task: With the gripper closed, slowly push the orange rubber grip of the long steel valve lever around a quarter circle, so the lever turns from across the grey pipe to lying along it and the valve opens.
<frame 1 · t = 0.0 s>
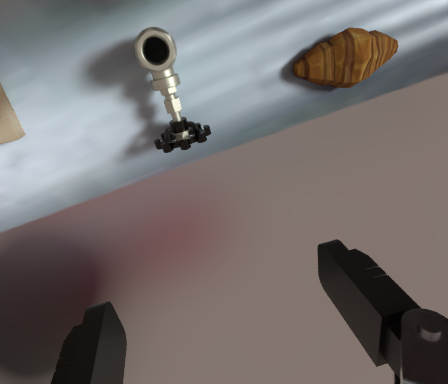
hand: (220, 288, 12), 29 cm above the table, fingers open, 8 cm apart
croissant: (339, 58, 39), on the table
valve: (167, 85, 36), on the table
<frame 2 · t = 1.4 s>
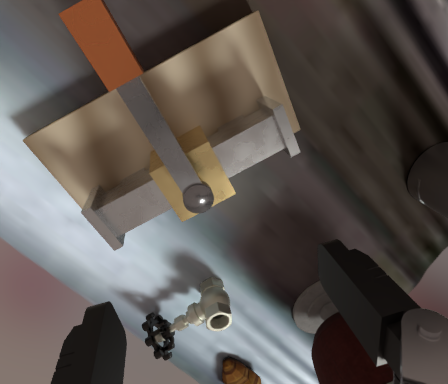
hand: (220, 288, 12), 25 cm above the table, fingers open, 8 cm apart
valve board: (171, 129, 34), on the table
mate gourd: (321, 304, 52), on the table
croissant: (240, 373, 56), on the table
pipe valve: (192, 175, 30), on the valve board, point 6 cm above the table
valve: (189, 298, 46), on the table
valve lever: (153, 124, 23), point 11 cm above the table, hinge at 0.0°
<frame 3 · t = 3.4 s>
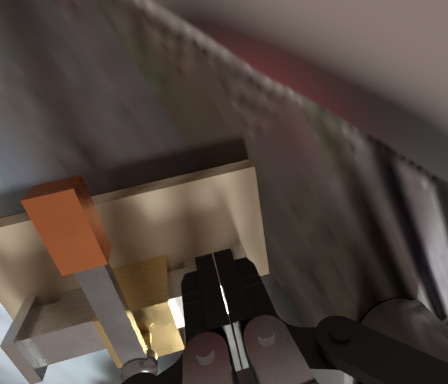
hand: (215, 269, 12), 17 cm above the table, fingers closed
valve board: (135, 246, 31), on the table
pipe valve: (143, 315, 27), on the valve board, point 6 cm above the table
valve lever: (107, 300, 20), point 11 cm above the table, hinge at 0.0°
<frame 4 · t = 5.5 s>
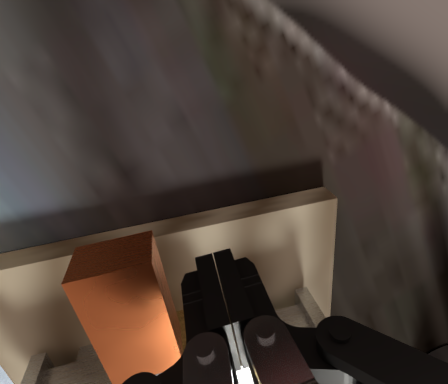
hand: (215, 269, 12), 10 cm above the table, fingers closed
valve board: (173, 288, 25), on the table
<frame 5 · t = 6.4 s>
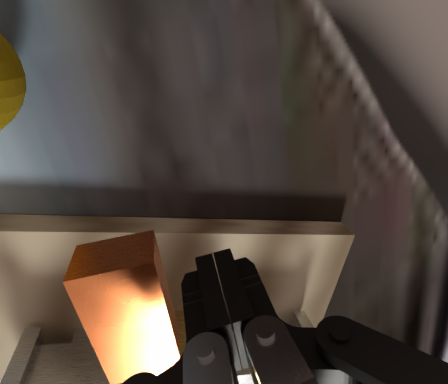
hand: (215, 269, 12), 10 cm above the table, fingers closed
valve board: (179, 287, 25), on the table
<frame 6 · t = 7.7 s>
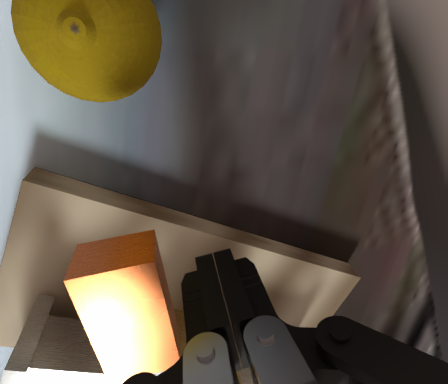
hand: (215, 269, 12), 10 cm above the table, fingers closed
valve board: (189, 288, 25), on the table
lemon: (107, 35, 17), on the table
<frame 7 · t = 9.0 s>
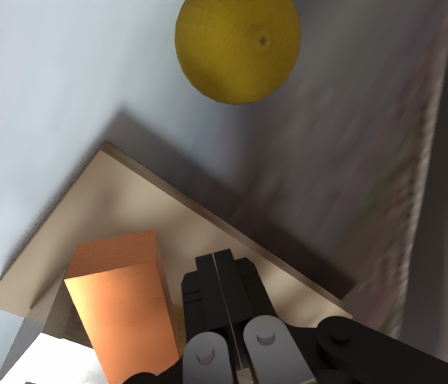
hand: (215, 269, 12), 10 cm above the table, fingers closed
valve board: (198, 292, 26), on the table
lemon: (217, 43, 18), on the table
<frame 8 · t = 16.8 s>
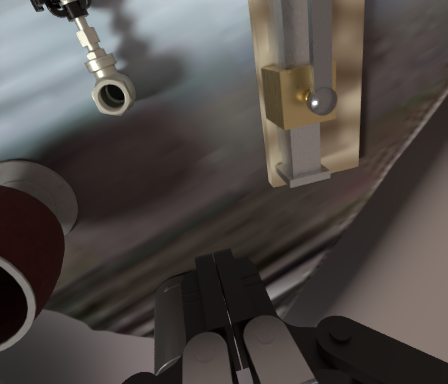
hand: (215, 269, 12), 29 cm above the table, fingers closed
valve board: (306, 81, 39), on the table
mate gourd: (27, 198, 39), on the table
pipe valve: (300, 93, 34), on the valve board, point 6 cm above the table
valve: (102, 54, 34), on the table
valve lever: (319, 17, 26), point 11 cm above the table, hinge at 90.1°
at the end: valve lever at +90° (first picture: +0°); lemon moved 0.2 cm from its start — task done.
